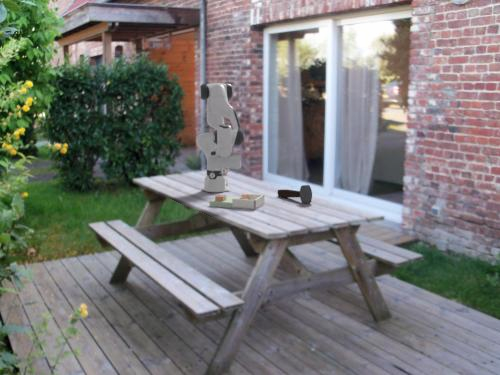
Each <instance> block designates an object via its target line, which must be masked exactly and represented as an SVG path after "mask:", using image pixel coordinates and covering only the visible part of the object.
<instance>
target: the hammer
mask: <svg viewBox="0 0 500 375" xmlns="http://www.w3.org/2000/svg"><path fill="white" fill-rule="evenodd" d="M277 197H279V198H284V199H285V198H287V199H288V198H300V202H301V204H303V205H309V204H311V202H312V200H313V199H312V198H313V192H312V188H311V186H310V184H305V185H301V186H300V189H299V190H294V189H293V190H292V189H277Z"/></svg>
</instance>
